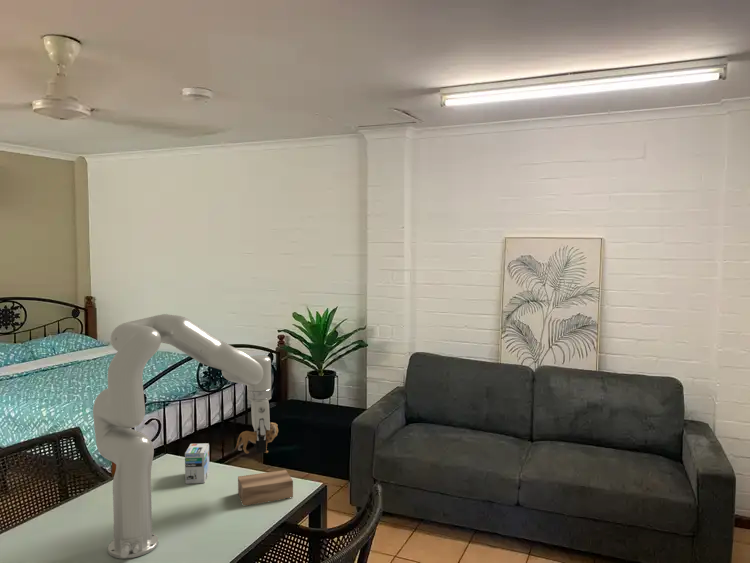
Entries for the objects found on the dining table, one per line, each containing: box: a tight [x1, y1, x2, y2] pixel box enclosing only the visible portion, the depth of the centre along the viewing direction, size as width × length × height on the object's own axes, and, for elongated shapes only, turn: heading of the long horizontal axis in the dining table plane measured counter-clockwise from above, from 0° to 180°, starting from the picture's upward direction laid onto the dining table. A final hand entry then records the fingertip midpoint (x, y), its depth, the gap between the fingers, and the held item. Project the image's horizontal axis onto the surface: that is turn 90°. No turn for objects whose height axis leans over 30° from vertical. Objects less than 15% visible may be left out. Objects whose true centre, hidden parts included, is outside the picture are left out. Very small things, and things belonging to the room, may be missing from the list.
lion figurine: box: [232, 422, 279, 454], centre depth 191 cm, size 15×5×9 cm, turn 105°
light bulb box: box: [184, 442, 210, 485], centre depth 207 cm, size 11×7×11 cm, turn 7°
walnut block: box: [237, 469, 294, 506], centre depth 192 cm, size 10×16×6 cm, turn 112°
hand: (260, 448), depth 191 cm, fingers closed on lion figurine, 4 cm apart
